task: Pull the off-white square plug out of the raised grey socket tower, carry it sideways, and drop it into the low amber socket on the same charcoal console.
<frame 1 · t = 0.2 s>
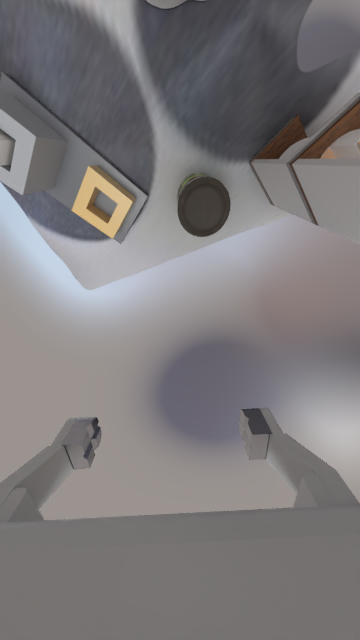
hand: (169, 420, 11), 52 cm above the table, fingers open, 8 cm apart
coffee can: (197, 198, 48), on the table
console: (77, 176, 45), on the table
striped beige pillar: (280, 165, 44), on the table
plug: (10, 145, 34), point 10 cm above the table, touching console
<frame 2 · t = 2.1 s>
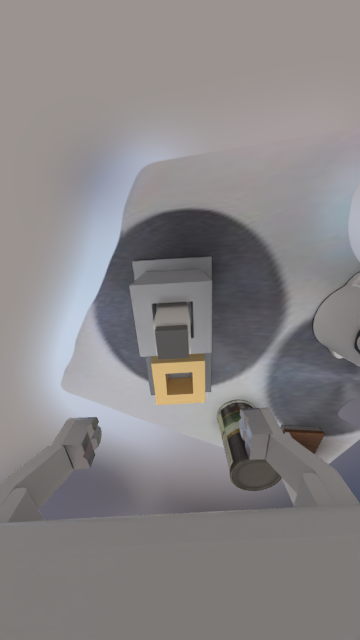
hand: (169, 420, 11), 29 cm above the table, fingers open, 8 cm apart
coffee can: (235, 414, 50), on the table
console: (177, 331, 41), on the table
striped beige pillar: (293, 440, 54), on the table
plug: (173, 311, 28), point 10 cm above the table, touching console
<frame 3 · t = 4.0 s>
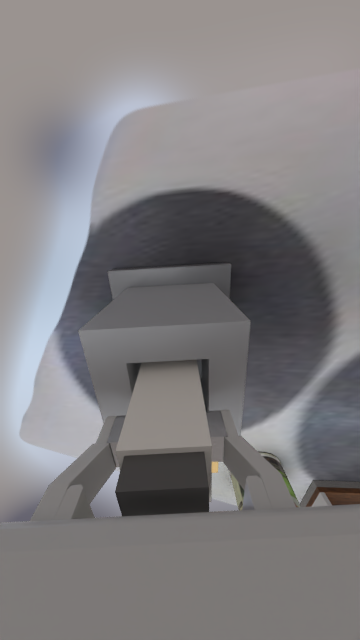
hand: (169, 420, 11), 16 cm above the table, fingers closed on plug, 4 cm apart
coffee can: (254, 467, 38), on the table
console: (177, 368, 29), on the table
striped beige pillar: (326, 496, 42), on the table
plug: (171, 360, 17), point 10 cm above the table, touching console, gripper
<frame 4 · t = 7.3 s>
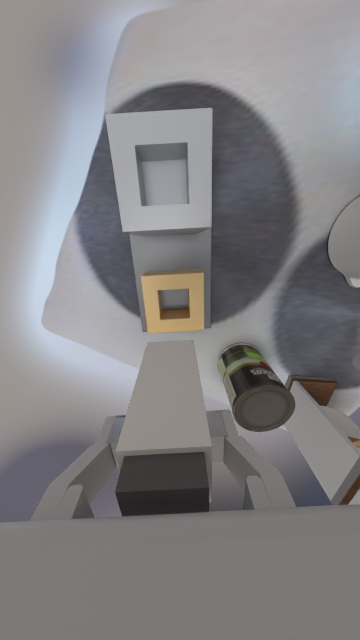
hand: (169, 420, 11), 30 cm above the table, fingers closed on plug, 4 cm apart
coffee can: (238, 361, 45), on the table
console: (171, 252, 36), on the table
striped beige pillar: (302, 394, 49), on the table
plug: (171, 360, 17), point 24 cm above the table, touching gripper
when the fingers open (10 cm above the table, at t = 10.7 s): plug drops 1 cm, resting on console.
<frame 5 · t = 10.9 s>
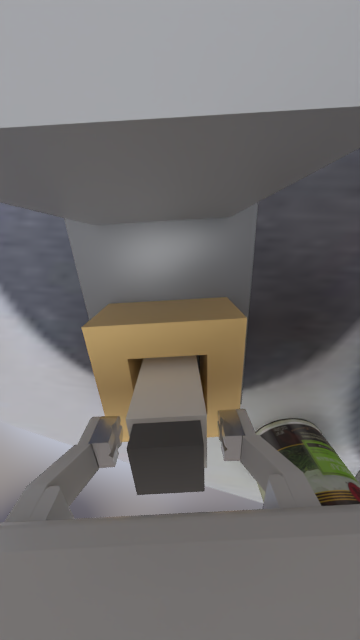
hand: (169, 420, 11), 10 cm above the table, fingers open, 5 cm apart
coffee can: (282, 444, 26), on the table
console: (166, 261, 17), on the table
plug: (172, 351, 18), point 2 cm above the table, touching console
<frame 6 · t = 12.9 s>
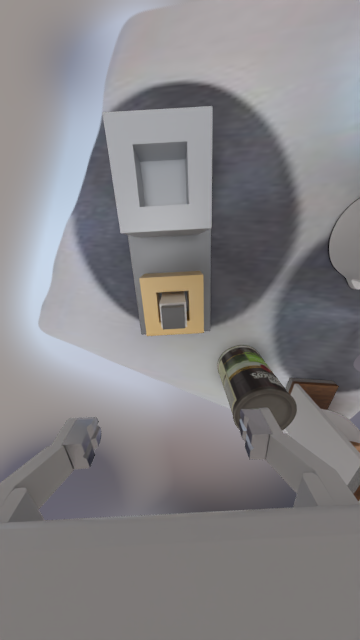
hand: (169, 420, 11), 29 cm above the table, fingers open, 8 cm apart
coffee can: (238, 364, 44), on the table
console: (171, 254, 35), on the table
striped beige pillar: (302, 397, 48), on the table
plug: (174, 299, 36), point 2 cm above the table, touching console
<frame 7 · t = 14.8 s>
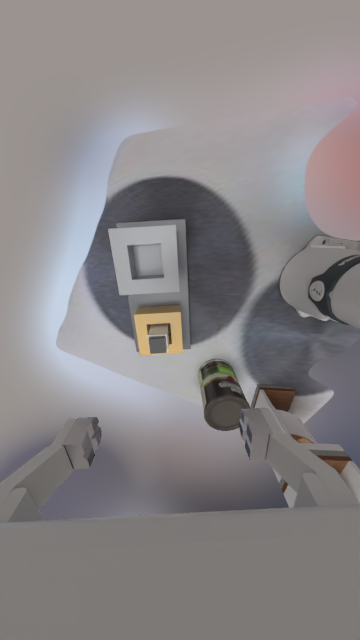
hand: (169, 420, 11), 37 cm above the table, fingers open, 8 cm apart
coffee can: (215, 373, 55), on the table
console: (158, 291, 46), on the table
striped beige pillar: (269, 399, 59), on the table
plug: (161, 325, 47), point 2 cm above the table, touching console
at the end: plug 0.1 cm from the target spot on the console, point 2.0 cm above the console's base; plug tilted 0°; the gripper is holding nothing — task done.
